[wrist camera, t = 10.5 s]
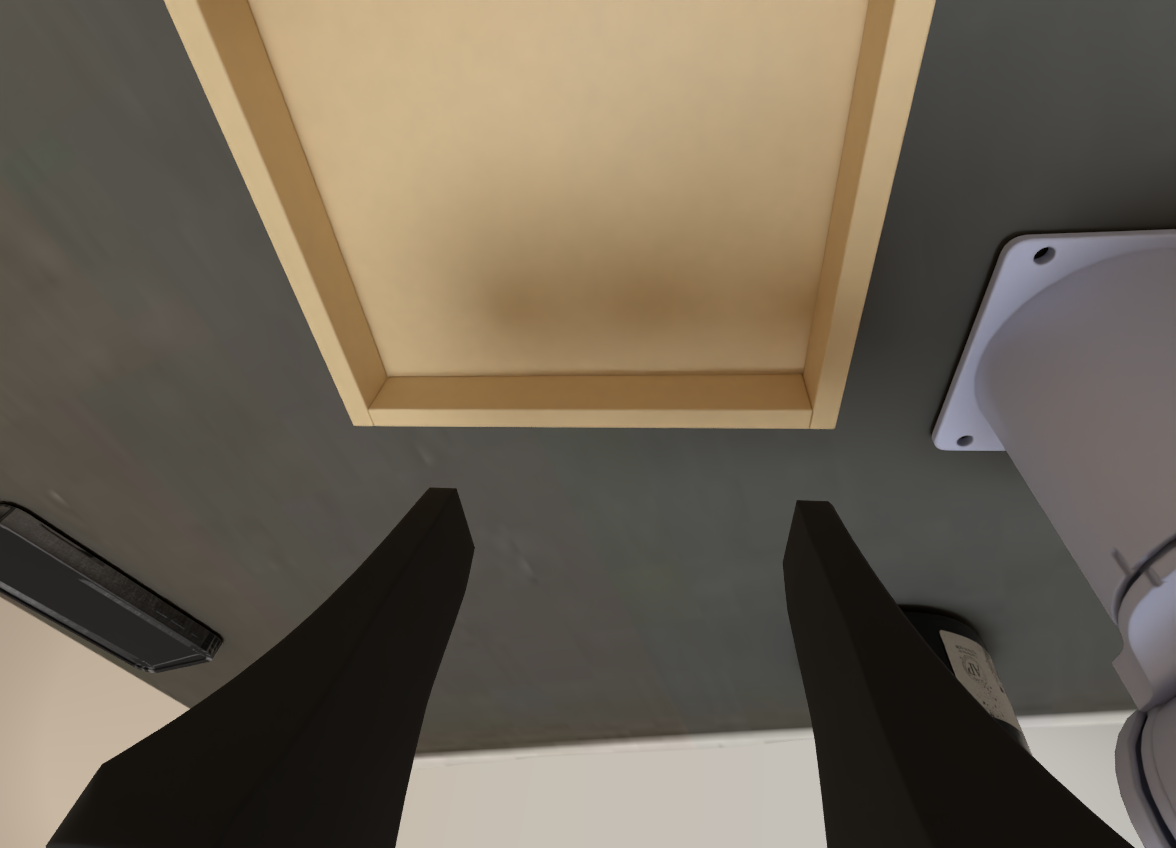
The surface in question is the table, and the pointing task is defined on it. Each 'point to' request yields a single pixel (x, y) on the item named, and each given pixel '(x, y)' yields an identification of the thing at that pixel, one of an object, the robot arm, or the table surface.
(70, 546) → the phone
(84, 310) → the table surface
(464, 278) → the tray
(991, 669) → the ink bottle
